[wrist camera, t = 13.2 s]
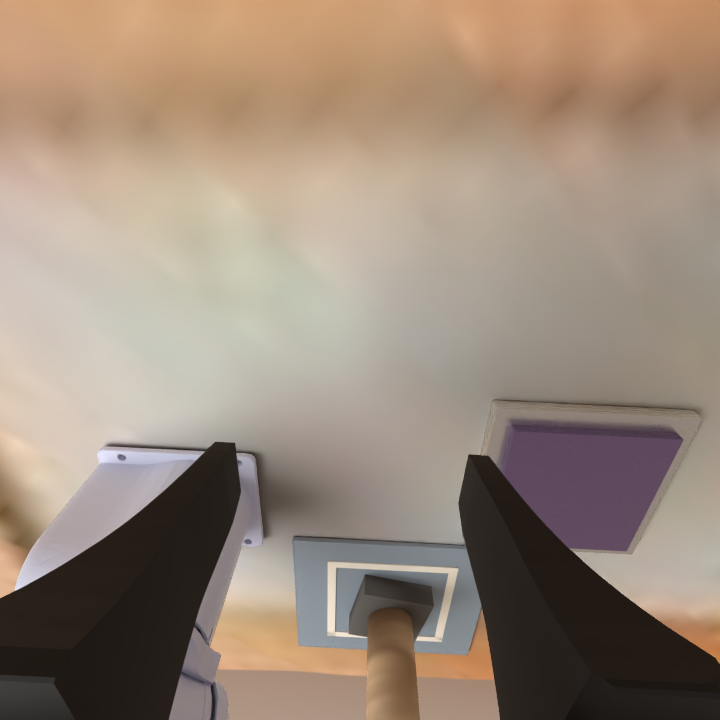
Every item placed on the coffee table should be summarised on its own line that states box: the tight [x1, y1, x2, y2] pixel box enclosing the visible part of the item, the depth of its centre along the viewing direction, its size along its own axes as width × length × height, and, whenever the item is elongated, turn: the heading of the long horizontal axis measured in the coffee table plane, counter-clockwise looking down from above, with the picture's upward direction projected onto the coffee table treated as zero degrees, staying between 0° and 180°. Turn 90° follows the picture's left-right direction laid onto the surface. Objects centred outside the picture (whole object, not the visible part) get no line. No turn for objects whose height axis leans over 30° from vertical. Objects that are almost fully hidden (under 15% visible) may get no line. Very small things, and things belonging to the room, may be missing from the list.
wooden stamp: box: [348, 574, 434, 720], centre depth 29 cm, size 5×5×8 cm
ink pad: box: [463, 400, 703, 554], centre depth 26 cm, size 11×11×1 cm
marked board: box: [293, 537, 482, 655], centre depth 32 cm, size 14×13×1 cm
